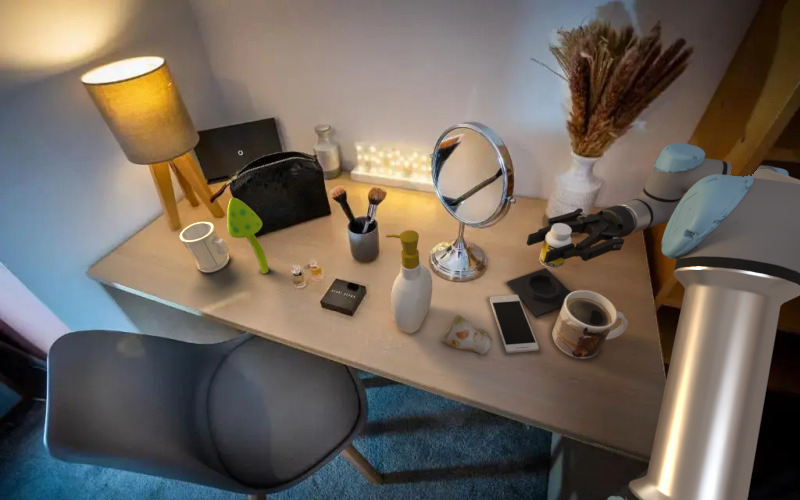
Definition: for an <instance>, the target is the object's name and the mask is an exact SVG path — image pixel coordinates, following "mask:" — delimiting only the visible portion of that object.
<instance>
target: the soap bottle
mask: <svg viewBox="0 0 800 500" xmlns="http://www.w3.org/2000/svg"><path fill="white" fill-rule="evenodd" d="M419 237H420V235H419V233H418V232H417V231H416V230H413V229H407V230H404V231H402V232H401V233H400V234H395V233H394V234H386V235H385V238H395V239H399V240H400V245H401V247H402V249H401V253H400V256H401V261H400V271H399V273H398V274H397V276H396V278H395V280H394V281H393V284H392V287H391V291H390V293H391V294H390V311H391V315H392V319H393V321H394V324H395V325H396V327H398V329H399V330H400V331H402V332H404V333H408V334H412V333H413V334H414V333H415V332H417V331H418V330H419V329H420V327H421V326H422V325H423V323H424V321H425V318H426V316H427V314H428V311H429V309H430V307H431V302H432V295H433V279H432V274H431V271H430V270H429V268H428V267H426V266H425V265H422V264H421V260H420V252H419V249H418V243H419V239H420V238H419Z"/></svg>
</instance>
